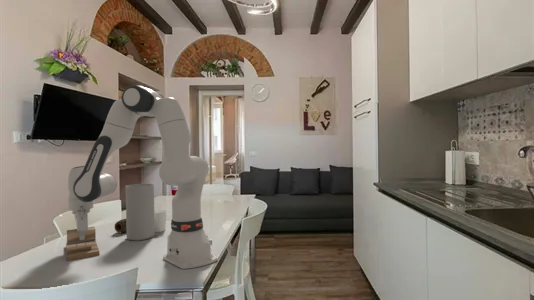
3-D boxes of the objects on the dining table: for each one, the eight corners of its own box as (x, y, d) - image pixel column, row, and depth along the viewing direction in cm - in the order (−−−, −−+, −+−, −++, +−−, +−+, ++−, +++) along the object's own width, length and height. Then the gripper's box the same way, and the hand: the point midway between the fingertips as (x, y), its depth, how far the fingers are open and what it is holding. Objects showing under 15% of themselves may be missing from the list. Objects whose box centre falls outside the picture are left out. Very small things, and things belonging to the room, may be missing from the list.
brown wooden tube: (125, 234, 151) (125, 221, 151) (113, 233, 153) (113, 220, 153) (144, 226, 165) (144, 214, 165) (133, 226, 167) (133, 214, 167)
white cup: (169, 228, 161) (168, 209, 161) (162, 232, 153) (162, 213, 153) (154, 228, 161) (154, 209, 161) (147, 232, 154) (147, 212, 153)
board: (99, 254, 122) (99, 251, 122) (66, 260, 116) (66, 256, 116) (94, 241, 139) (94, 238, 139) (66, 246, 133) (66, 243, 133)
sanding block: (95, 240, 127) (95, 229, 127) (67, 245, 121) (66, 232, 121) (94, 237, 131) (94, 226, 131) (66, 242, 126) (66, 230, 125)
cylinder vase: (144, 241, 138) (143, 187, 138) (120, 240, 141) (119, 186, 141) (159, 233, 151) (158, 183, 150) (137, 233, 153) (136, 183, 153)
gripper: (91, 207, 119) (92, 242, 119) (88, 200, 136) (88, 231, 136) (72, 209, 116) (73, 245, 116) (71, 201, 133) (72, 233, 133)
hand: (81, 237), depth 126 cm, fingers closed on sanding block, 5 cm apart
